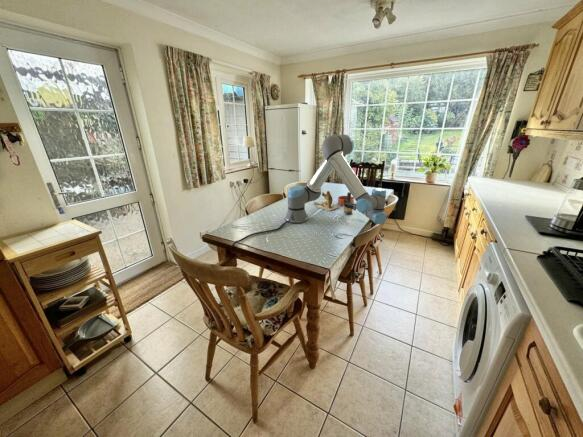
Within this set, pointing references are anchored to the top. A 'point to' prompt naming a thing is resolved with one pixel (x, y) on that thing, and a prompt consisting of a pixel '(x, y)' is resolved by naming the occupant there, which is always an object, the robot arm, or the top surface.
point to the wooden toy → (326, 202)
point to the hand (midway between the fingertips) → (353, 200)
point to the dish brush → (348, 210)
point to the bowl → (341, 200)
